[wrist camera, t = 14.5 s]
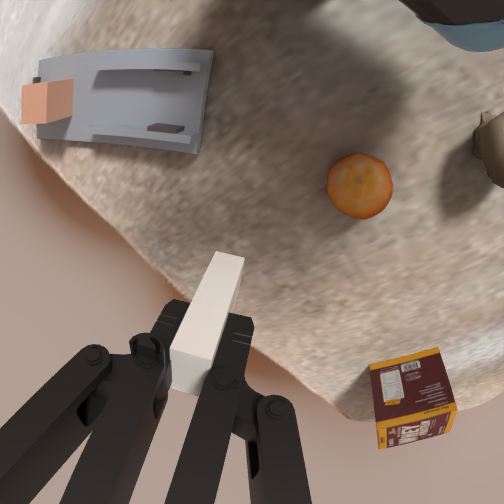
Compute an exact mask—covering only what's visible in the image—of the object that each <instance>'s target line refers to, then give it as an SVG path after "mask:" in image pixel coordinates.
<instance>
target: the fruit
mask: <svg viewBox="0 0 504 504" xmlns="http://www.w3.org/2000/svg"><path fill="white" fill-rule="evenodd" d="M392 187H393V183H392V180H391V176H390V173H389V170H388V168H387V167H386V165H385V163H384V162H382V161H380V160H378V159H376V158H374V157H372V156H370V155H367V154H359V153H356V154H352V155H348V156H346V157H345V158H343V159H342V160H340V161H338V162H336V163H334V164H333V165H332V167H331V168H330V170H329V173H328V182H327V191H328V194H329V196H330V198H331V200H332V202H333V204H334V205H335V206H336V207H337V208H338V209H339V210H340V211H341V212H343V213H345V214H346V215H348V216H351V217H353V218H357V219H368V218H371V217H373V216H375V215H377V214H378V213H380V212H381V211H383V210H384V209H385V207H386V206H387V204H388V203H389V201H390V199H391V197H392Z"/></svg>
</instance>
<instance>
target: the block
mask: <svg viewBox="0 0 504 504" xmlns="http://www.w3.org/2000/svg"><path fill="white" fill-rule="evenodd" d="M73 89H74V79H64V80H55V81H47V82H41V83H35V84H29V85H24V86H22V124H47V123H50V122H53V121H56V120H60V119H63V118H67V117H70V116H72V110H73Z"/></svg>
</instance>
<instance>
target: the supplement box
mask: <svg viewBox="0 0 504 504" xmlns="http://www.w3.org/2000/svg"><path fill="white" fill-rule="evenodd" d="M369 368H370V376H371V385H372V393H373V401H374V409H375V419H376V428H377V437H378V448H379V449H385V448H389V447H393V446H398V445H402V444H406V443H411V442H414V441H418V440H422V439H426V438H429V437H433V436H437V435H441V434H444V433H447V432H450V429H451V427H452V424H453V421H454V418H455V416H456V413H457V410H458V409H457V407H456V403H455V400H454V396H453V393H452V389H451V386H450V382H449V379H448V376H447V373H446V369H445V366H444V363H443V360H442V357H441V354H440V351H439V348H438V347H437V348H433V349H430V350H426V351H423V352H419V353H415V354H412V355H408V356H404V357H400V358H396V359H392V360H387V361H383V362H379V363H374V364H370V365H369Z"/></svg>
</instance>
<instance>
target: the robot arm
mask: <svg viewBox="0 0 504 504" xmlns="http://www.w3.org/2000/svg"><path fill="white" fill-rule="evenodd" d="M399 1H400V2H401V3H403V4H404V5H405V6H407V7H408V8H409V9H410V10H412V11H413V12H414V13H415V15H416V17H417V18H418V19H419V20H420V21H421V22H423V23H425V24H427V25H428V26H431V27H432V28H433V29H434V30H435V31H437V32H438V33H439V34H440V35H441V36H442V37H443V38H445V39H446V40H447V41H448V42H449V43H451V44H452V45H454V46H456V47H459V48H461V49H464V50H466V51H472V52H486V51H492V50H497V49H501V48H504V0H399ZM244 261H245V258H244V257H240V256H235V255H231V254H227V253H222V252H218V251H216V252H215V254H214V256H213V258H212V260H211V262H210V264H209V266H208V268H207V270H206V273H205V275H204V277H203V279H202V281H201V283H200V285H199V287H198V289H197V291H196V293H195V295H194V297H193V299H192V302H191V303H187V302H184V301H180V300H176V299H173V300H172V301H170V302H169V303H168V304H166V305H165V307H164V308H163V310H162V312H161V315H160V316H159V318H158V319H157V322H156V323H155V325H154V326H153V328H152V330H151V332H150V333H140V334H138V335H136V336H133V337H132V338H131V340H130V341H129V344H130V349H131V354H126V355H120V354H109V352H108V350H107V349H106V348H105V347H103V346H101V345H96V344H92V345H88V346H86V347H84V348H83V349H81V350H80V351H79V352H78V353H77V354H76V355H75V356H74V357H73V358H72V359H71V360H70V361H68V363H66V364H65V365H64V366H63V367H62V368H61V369H60V370H59V371H58V372H57V373H56V374H55V375H54V376H53V377H52V378H51V379H50V380H49V381H48V382H46V383H45V384H44V386H42V387H41V388H40V389H39V391H37V392H36V393H35V394H34V395H33V396H32V397H31V398H30V399H29V400H28V401H27V402H26V403H25V404H24V405H23V406H22V407H21V408H20V409H19V410H18V411H17V412H16V413H15V414H14V415H13V416H12V417H11V418H10V419H9V420H8V421H7V422H6V423H5V424H4V425H3V426H2V427H1V428H0V504H29V503H30V502H31V501H32V500H33V499H34V498H35V496H36V495H37V494H38V493H39V492H40V490H41V489H42V488H43V487H44V486H45V485H46V483H47V482H48V481H49V480H50V479H51V478H52V477H53V476H54V474H55V473H56V472H57V471H58V469H60V468H61V466H62V465H63V464H64V463H65V462H66V461H67V459H68V458H69V457H70V456H71V455H72V454H73V452H74V451H75V450H76V449H77V448H78V447H79V446H80V444H81V443H82V442H83V441H84V440H85V439H86V437H87V436H88V435H89V434H90V433H91V432H92V433H91V435H90V437H89V439H88V441H87V443H86V445H85V448H84V450H83V452H82V454H81V456H80V458H79V460H78V463H77V465H76V467H75V469H74V471H73V474H72V476H71V478H70V480H69V483H68V485H67V487H66V489H65V492H64V494H63V497H62V499H61V501H60V503H59V504H129V501H130V499H131V496H132V493H133V490H134V487H135V485H136V482H137V479H138V477H139V474H140V471H141V468H142V466H143V463H144V461H145V458H146V455H147V452H148V450H149V447H150V444H151V442H152V439H153V436H154V434H155V431H156V429H157V426H158V423H159V421H160V418H161V416H162V413H163V410H164V408H165V405H166V403H167V400H168V390H169V388H170V385H171V386H172V389H174V390H178V391H181V392H184V393H188V394H192V395H195V396H199V399H198V402H197V404H196V408H195V411H194V414H193V417H192V420H191V423H190V426H189V429H188V432H187V435H186V438H185V441H184V444H183V448H182V451H181V454H180V457H179V460H178V463H177V466H176V469H175V472H174V475H173V479H172V482H171V485H170V488H169V491H168V494H167V497H166V500H165V504H214V502H215V498H216V493H217V490H218V486H219V482H220V478H221V474H222V470H223V465H224V461H225V457H226V453H227V449H228V444H229V440H230V436H231V432H232V433H233V434H236V435H237V436H239V437H241V438H243V439H244V440H245V443H246V454H247V466H248V478H249V489H250V499H251V504H312V501H311V496H310V490H309V485H308V479H307V474H306V468H305V463H304V458H303V452H302V447H301V441H300V436H299V431H298V425H297V420H296V415H295V410H294V407H293V405H292V403H291V402H290V401H289V400H288V399H286V398H284V397H282V396H279V395H270V396H266V397H265V396H263V395H261V394H259V393H257V392H255V391H254V390H253V389H251V388H250V387H249V386H248V384H247V382H246V381H245V377H244V374H245V368H246V363H247V358H248V354H249V349H250V345H251V340H252V336H253V331H254V324H253V321H252V318H251V317H246V316H242V315H238V314H234V313H233V311H234V308H235V305H236V302H237V298H238V293H239V287H240V282H241V277H242V271H243V266H244Z"/></svg>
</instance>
